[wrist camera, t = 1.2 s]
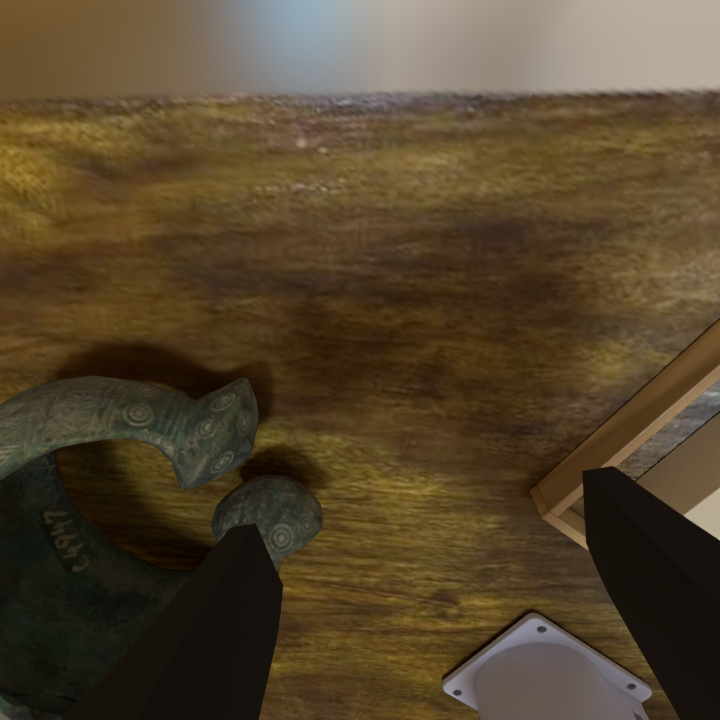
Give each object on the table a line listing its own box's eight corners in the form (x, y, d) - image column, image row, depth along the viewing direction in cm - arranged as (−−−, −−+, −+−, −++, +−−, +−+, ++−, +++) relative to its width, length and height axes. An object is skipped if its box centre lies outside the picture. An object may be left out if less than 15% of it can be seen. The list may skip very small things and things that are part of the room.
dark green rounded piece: (372, 533, 24) (360, 756, 14) (153, 617, 27) (29, 842, 18) (210, 283, 19) (44, 372, 10) (-27, 420, 23) (-316, 581, 13)
